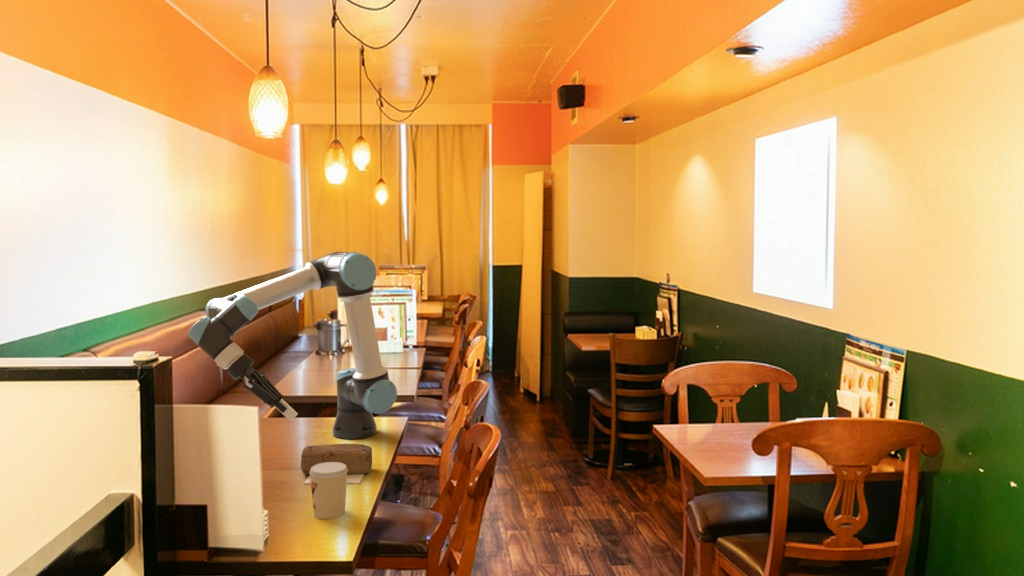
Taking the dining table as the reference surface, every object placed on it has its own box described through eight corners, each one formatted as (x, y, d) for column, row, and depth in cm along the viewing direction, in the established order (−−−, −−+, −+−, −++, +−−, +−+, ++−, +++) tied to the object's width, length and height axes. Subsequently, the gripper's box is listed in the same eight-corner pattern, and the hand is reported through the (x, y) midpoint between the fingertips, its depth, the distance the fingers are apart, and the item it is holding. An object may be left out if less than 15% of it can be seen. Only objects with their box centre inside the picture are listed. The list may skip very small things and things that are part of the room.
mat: (319, 462, 235) (319, 460, 235) (370, 461, 235) (370, 460, 235) (304, 484, 215) (304, 482, 215) (359, 483, 215) (359, 482, 215)
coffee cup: (313, 507, 198) (313, 461, 197) (350, 506, 198) (349, 461, 197) (307, 520, 188) (306, 473, 187) (345, 519, 189) (344, 472, 188)
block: (299, 476, 219) (369, 476, 221) (299, 450, 219) (370, 450, 221) (306, 465, 230) (373, 465, 232) (306, 441, 230) (373, 441, 232)
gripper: (233, 366, 227) (290, 420, 229) (218, 375, 214) (279, 432, 216) (250, 348, 227) (308, 403, 229) (237, 356, 214) (298, 414, 216)
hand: (294, 417), depth 223 cm, fingers closed
